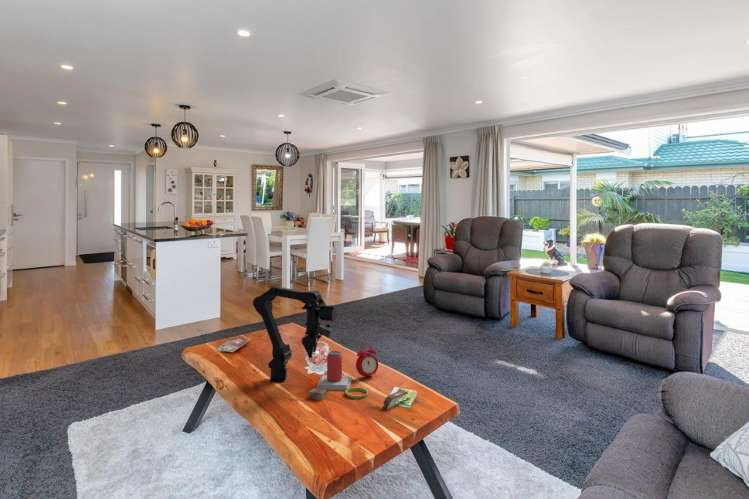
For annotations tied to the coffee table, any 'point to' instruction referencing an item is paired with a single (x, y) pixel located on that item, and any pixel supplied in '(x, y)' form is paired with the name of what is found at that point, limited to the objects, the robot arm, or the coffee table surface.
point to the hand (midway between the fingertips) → (312, 354)
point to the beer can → (334, 366)
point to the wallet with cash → (393, 399)
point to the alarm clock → (366, 362)
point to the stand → (334, 383)
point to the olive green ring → (356, 390)
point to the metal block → (317, 394)
